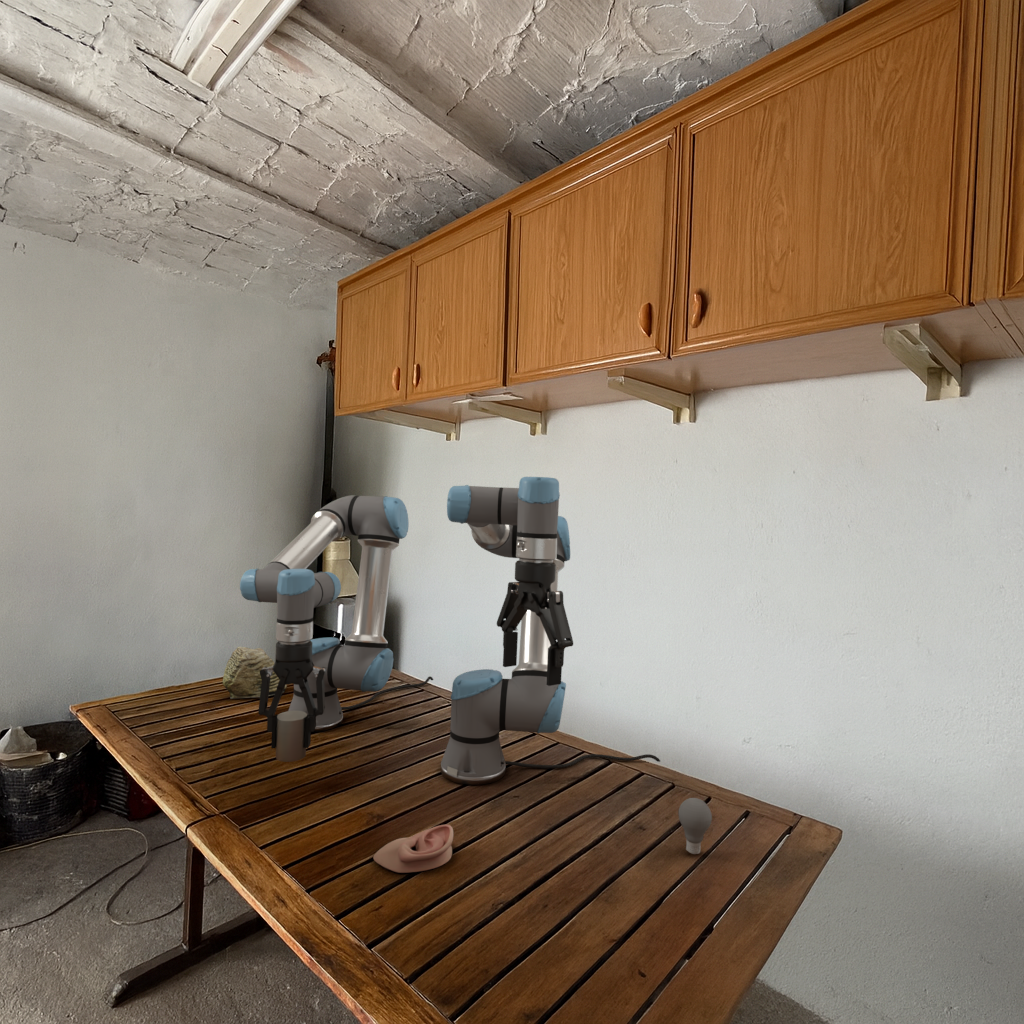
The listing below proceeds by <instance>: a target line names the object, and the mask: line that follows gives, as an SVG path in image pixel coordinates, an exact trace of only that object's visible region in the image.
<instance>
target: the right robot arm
mask: <svg viewBox="0 0 1024 1024" xmlns="http://www.w3.org/2000/svg"><path fill="white" fill-rule="evenodd" d="M560 496H561V494H560V481H559V480H558V479H557V478H555V477H550V476H549V477H548V476H547V477H546V476H522V477H521V478H520V479H519V483H518V487H502V486H501V487H499V486H498V487H496V486H480V485H477V486H476V485H469V484H464V485H452V486H451V487H450V488H449V490H448V493H447V500H446V513H447V514H446V515H447V518H448V521H450V522H451V523H459V524H461V525H462V524H467V526H469V528H470V529H471V531H470V532H471V536H472V538H473V540H474V542H475V543H476V544H477V545H478V546H479V547H480V548H481V549H483V550H485V551H487V552H489V553H491V554H494V555H496V556H500V557H503V558H511V559H518V560H516V562H515V563H514V580H515V581H509V582H508V584H507V591H506V595H505V598H504V601H503V603H502V606H501V609H500V611H499V615H498V617H497V621H496V627H498V628H499V627H500V628H501V631H502V632H503V633H502V634H503V635H502V647H503V650H502V651H503V654H502V657H503V658H502V667H504V668H508V667H515V668H513V669H512V670H511V678H503V674H502V672H501V671H499V670H497V669H495V670H494V669H492V668H491V669H489V668H488V669H487V668H486V669H476V670H470V671H466V672H463V673H461V674H459V675H457V676H456V677H455V678H454V679H453V681H452V687H451V695H450V699H451V700H450V701H451V703H450V705H451V706H450V725H449V726H450V729H449V739H448V742H447V745H446V747H445V750H444V753H443V757H442V759H441V761H440V773H441V775H442V776H443V777H444V778H445V779H447V780H448V781H451V782H453V783H457V784H461V785H470V786H478V785H479V786H480V785H488V784H491V783H495V782H497V781H500V780H501V779H502V778H504V776H505V775H506V765H507V766H515V767H521V768H528V769H529V768H530V769H546V770H549V769H553V770H554V769H564V768H569V767H571V766H574V765H576V764H578V763H579V762H580V761H582V760H585V759H591V758H593V759H595V758H599V759H607V760H614V761H620V762H621V761H622V762H634V761H638V760H642V759H652V760H654V761H656V762H657V763H660V762H661V759H660V758H659V757H657V756H656V755H653V754H650V753H649V754H648V753H647V754H641V755H638V756H632V757H622V756H614V755H613V756H612V755H608V754H599V753H597V754H596V753H593V754H585V755H581V756H579V757H577V758H575V759H574V760H573V761H569V762H567V763H561V764H533V763H523V762H518V761H510V760H505V755H504V752H503V748H502V745H501V741H500V731H509V732H521V733H522V732H525V733H536V734H553V733H556V732H557V731H558V730H559V729H560V725H561V719H562V713H563V708H564V702H565V695H566V687H567V683H566V682H564V681H562V674H563V673H562V672H563V671H562V669H563V667H564V664H565V663H564V660H565V649H566V648H569V647H573V646H574V640H573V636H572V632H571V629H570V624H569V621H568V616H567V612H566V609H565V603H564V592H563V590H558V589H559V588H558V587H559V572H560V571H562V570H563V569H564V568H565V562H568V561H570V560H571V541H570V540H571V539H570V530H569V524H568V520H567V519H566V518H565V517H564V516H562V515H559V506H560V505H559V504H560ZM520 623H521V624H520ZM519 624H520V639H518V638H519V632H518V630H519V629H518V626H519ZM518 640H519V656H518ZM517 659H518V660H517ZM517 661H518V662H517ZM517 663H518V665H517Z"/></svg>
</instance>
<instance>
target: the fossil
mask: <svg viewBox="0 0 1024 1024" xmlns="http://www.w3.org/2000/svg"><path fill="white" fill-rule="evenodd" d="M274 664H275V660H273V659H272V658H271V657H270V656H269V655H268V654H267V653H266V652H265V650H264V649H263V648H260V647H258V648H251V647H247V646H246V647H245V646H238V647H237V648H236V649H235V650H233V651H232V653H231V656H230V657H229V659H228V660H227V663H226V666H225V668H224V671H223V675H222V676H223V677H222V685H223V687H224V688H225V690H226V691H228V693H229V698H230V699H250V698H260V692H261V683H262V679H261V676H260V671H261V670H262V669H263V668H264V667H271V666H273V665H274ZM279 681H280V679H279V678H278V676H277V675H276V674H275V672H274V671H273V673H272V676H271V677H270V687H269V696H268V697H271V696H274V695H275V692H276V689H277V686H278V683H279ZM287 687H288V686H287V685H285V688H284V690H283V693H285V691H286V689H287Z"/></svg>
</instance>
